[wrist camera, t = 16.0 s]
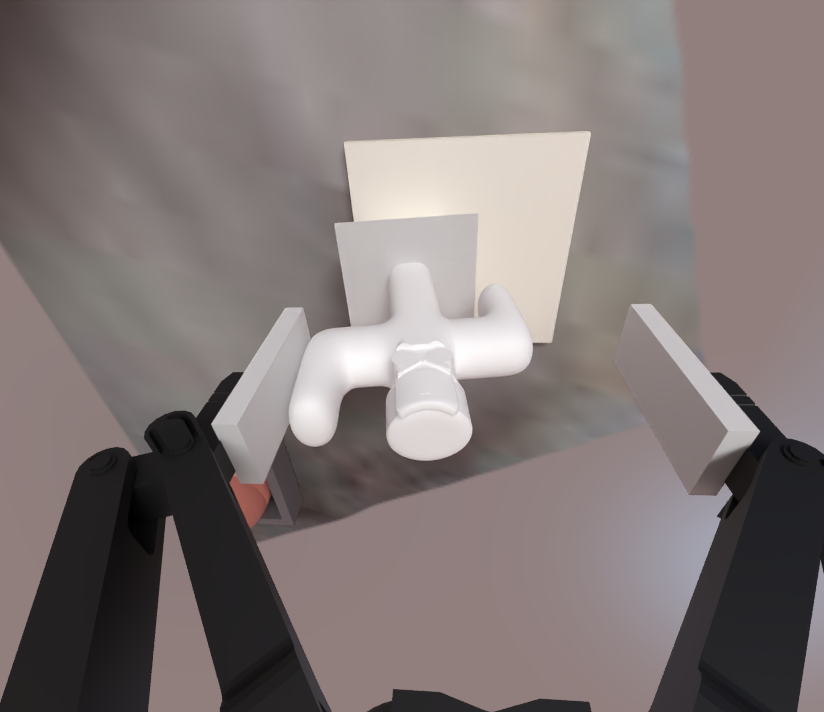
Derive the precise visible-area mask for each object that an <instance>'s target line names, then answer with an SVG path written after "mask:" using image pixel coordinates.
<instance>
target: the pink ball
mask: <svg viewBox="0 0 824 712" xmlns="http://www.w3.org/2000/svg"><path fill="white" fill-rule="evenodd" d="M230 485H231V487H232V489H233V491H234V493H235V496H236V498H237V500H238V503H239V505H240V507H241V509H242V512H243V514H244V516H245V518H246V521H247V523H248V525H249V528H250V529H251V528H252V527H253V526H254V525H255V524H256V523H257V522H258V521H259V519H260V518H261V516H262V515H263V513H264V511H265V509H266V507H267V504H268V502H269V500H270V497H271V495H272V493H271V491H270V488H269V486H268V483H267V481H266V479H265V481H264V484H241V483H240V481H239V479H238V477H237V475H236V473H235V474H234V475H233V477H232V479H231V481H230Z"/></svg>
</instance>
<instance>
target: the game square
mask: <svg viewBox="0 0 824 712" xmlns="http://www.w3.org/2000/svg"><path fill="white" fill-rule="evenodd" d="M590 136H591V132H589V131H577V132H553V133H530V134H506V135H482V136H458V137H435V138H411V139H387V140H364V141H346V142H344V148H345V156H346V164H347V171H348V179H349V187H350V195H351V202H352V210H353V218H354V222H359V221H373V220H387V219H402V218H416V217H430V216H444V215H458V214H472V213H479V214H478V237H477V260H476V283H475V306H474V317H479V316H478V300H479V296H480V294H481V292H482V291H483V289H484V288H486V287H487V286H489V285H491V284H499V285H502V286H503V287H505V288H506V289H507V290H508V292H509V293H510V295H511V297H512V299H513V300H514V302H515V304H516V305H517V307H518V309H519V311H520V312H521V314H522V316H523V318H524V320H525V321H526V323H527V325H528V328H529V330H530V334H531V337H532V343H552V338H553V332H554V327H555V322H556V316H557V311H558V306H559V301H560V295H561V290H562V285H563V279H564V274H565V269H566V263H567V258H568V253H569V247H570V242H571V237H572V231H573V226H574V221H575V216H576V210H577V205H578V200H579V194H580V189H581V184H582V178H583V173H584V168H585V162H586V157H587V152H588V146H589V141H590Z"/></svg>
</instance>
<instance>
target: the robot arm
mask: <svg viewBox="0 0 824 712" xmlns="http://www.w3.org/2000/svg"><path fill="white" fill-rule="evenodd" d="M310 340H311V338H310V334H309V330H308V326H307V321H306V317H305V313H304V309H303V308H285V309H284V311H283V312H282V314H281V315H280V317H279V319H278V320H277V322H276V323H275V325H274V326H273V328H272V330H271V331H270V333H269V334H268V336H267V337H266V339H265V341H264V342H263V344H262V345H261V347H260V348H259V350H258V352H257V353H256V355H255V356H254V358H253V359H252V361H251V362H250V364H249V366H248V367H247V369H246V370H245V372H233V373H232V374H230V375H229V376H228V377H226V378H225V379H224V380H223V381H221V383H220V384H219V386H218V387H217V389H216V390H215V391H214V394H212V396H211V397H210V399H209V402H207V403H206V404H205V406H204V407H203V409H202V410H201V412H200V413H199V415H198V416H197V417H196V418H195V416H194V415H193V414H192V413H191V412H188V411H174V412H171V413H168V414H165V415H163V416H161V417H159V418H157V419H156V420H155V421H154V422H152V423H151V424H150V425H149V426H148V428H147V429H146V431H145V435H144V439H145V440H146V442H147V443H148V445H149V446H150V448H151V449H152V451H153V452H151V453H147V454H142V455H138V456H134V457H132V456H131V455H130V454H129V452H128V451H127V450H125V449H124V448H119V447H114V448H109V449H105V450H103V451H100V452H98V453H96V454H94V455H93V456H91V457H90V458H88V459H87V460H86V461H85V462H84V463H83V464H82V465H81V466H80V467H79V469H78V470H77V472H76V474H75V477H74V480H73V483H72V486H71V490H70V493H69V495H68V498H67V502H66V505H65V508H64V511H63V514H62V517H61V520H60V523H59V526H58V529H57V532H56V535H55V538H54V541H53V544H52V547H51V550H50V553H49V556H48V559H47V562H46V566H45V568H44V571H43V575H42V577H41V580H40V584H39V587H38V590H37V593H36V596H35V599H34V602H33V605H32V608H31V611H30V614H29V617H28V620H27V623H26V626H25V629H24V633H23V635H22V639H21V641H20V644H19V647H18V651H17V654H16V657H15V660H14V663H13V666H12V669H11V672H10V675H9V678H8V682H7V684H6V687H5V690H4V693H3V696H2V699H1V702H0V712H148V704H149V693H150V683H151V673H152V661H153V651H154V639H155V629H156V618H157V607H158V596H159V585H160V575H161V564H162V553H163V543H164V532H165V521H166V517H167V516H171V515H173V518H174V521H175V525H176V529H177V532H178V536H179V540H180V543H181V547H182V551H183V554H184V558H185V561H186V565H187V569H188V572H189V576H190V580H191V583H192V587H193V591H194V594H195V598H196V601H197V605H198V609H199V612H200V616H201V620H202V623H203V627H204V631H205V634H206V638H207V641H208V645H209V648H210V652H211V656H212V660H213V663H214V667H215V670H216V674H217V678H218V682H219V685H220V689H221V694H222V703H221V707H220V712H331V709H330V707H329V705H328V703H327V701H326V699H325V697H324V695H323V693H322V691H321V689H320V686H319V684H318V682H317V680H316V678H315V675H314V673H313V671H312V668H311V666H310V664H309V662H308V660H307V657H306V655H305V653H304V650H303V648H302V646H301V644H300V641H299V639H298V637H297V634H296V632H295V630H294V628H293V625H292V623H291V621H290V618H289V616H288V614H287V612H286V609H285V607H284V605H283V603H282V600H281V598H280V596H279V593H278V591H277V589H276V587H275V584H274V582H273V580H272V578H271V575H270V573H269V571H268V568H267V566H266V564H265V562H264V559H263V557H262V555H261V553H260V551H259V548H258V546H257V543H256V541H255V539H254V537H253V534H252V532H251V530H250V528H249V525H248V523H247V521H246V518H245V516H244V514H243V512H242V509H241V507H240V505H239V503H238V500H237V498H236V496H235V493H234V491H233V489H232V487H231V485H230V481H231V479H232V477H233V475H234V474H235V473H236V475H237V477H238V479H239V481H240V483H241V484H264V481H265V479H266V477H267V474H268V472H269V470H270V467H271V465H272V462H273V460H274V458H275V455H276V453H277V451H278V448H279V446H280V444H281V441H282V439H283V437H284V434H285V432H286V429H287V427H288V425H289V404H290V400H291V396H292V392H293V389H294V385H295V382H296V379H297V375H298V372H299V368H300V365H301V361H302V358H303V355H304V352H305V350H306V347H307V345H308V343H309V342H310ZM613 362H614V364H615V365H616V367H617V369H618V371H619V372H620V374H621V376H622V378H623V379H624V381H625V383H626V385H627V386H628V388H629V390H630V392H631V394H632V395H633V397H634V399H635V401H636V402H637V404H638V406H639V408H640V409H641V411H642V413H643V415H644V416H645V418H646V420H647V422H648V423H649V425H650V427H651V429H652V430H653V432H654V434H655V436H656V438H657V439H658V441H659V443H660V445H661V446H662V448H663V450H664V452H665V453H666V455H667V457H668V459H669V461H670V462H671V464H672V466H673V468H674V469H675V471H676V473H677V475H678V476H679V478H680V480H681V482H682V483H683V485H684V487H685V489H686V490H687V492H688V494H689V495H713V496H716V495H717V493H718V492H719V491H720V489H721V488H722V486H723V485H724V483H726V485H727V486H728V488H729V489H730V490H731V492H732V494H733V495H732V496H731V497H730V499H729V500H728V502H727V503H726V505H725V506H724V507H723V508H722V510H721V511H720V513H719V514H718V515H717V517H719V518H721V521H720V523H719V527H718V529H717V531H716V534H715V537H714V540H713V542H712V545H711V548H710V550H709V553H708V556H707V558H706V561H705V564H704V566H703V569H702V572H701V574H700V577H699V580H698V582H697V585H696V588H695V591H694V593H693V596H692V599H691V601H690V604H689V607H688V609H687V612H686V615H685V617H684V620H683V623H682V626H681V628H680V631H679V633H678V636H677V639H676V642H675V644H674V647H673V650H672V652H671V655H670V658H669V660H668V663H667V666H666V668H665V671H664V674H663V676H662V679H661V682H660V684H659V687H658V690H657V693H656V695H655V698H654V701H653V703H652V705H651V708H650V710H649V712H797V708H798V702H799V695H800V688H801V682H802V675H803V669H804V662H805V656H806V650H807V643H808V637H809V630H810V624H811V618H812V611H813V605H814V598H815V591H816V585H817V578H818V572H819V565H820V559H821V563H822V567H823V572H824V454H822V453H821V452H820V451H818V450H817V449H816V448H814V447H812V446H810V445H808V444H806V443H803V442H800V441H797V440H793V439H787V438H786V437H785V436H784V435H783V434H782V433H781V432H780V430H779V429H778V428H777V427H776V426H775V425H774V424H773V423H772V422H771V421H770V419H769V418H768V417H767V416H766V415H765V414H764V413H763V412H762V411H761V410H760V408H759V407H758V406H755V403H754V402H753V401H752V400H751V399H750V397H747V396H746V395H747V394H746V393H745V392H744V391H743V390H742V389H741V388H740V387H739V385H738V384H737V383H736V382H734V381H732V380H731V379H729V378H728V377H726V376H725V375H723V374H722V373H710V372H709V371H708V370H707V369H706V368H705V366H704V365H703V364H702V363H701V362H700V361H699V359H698V358H697V357H696V356H695V355H694V354H693V352H692V351H691V350H690V349H689V348H688V347H687V345H686V344H685V343H684V342H683V341H682V340H681V338H680V337H679V336H678V335H677V334H676V333H675V331H674V330H673V329H672V328H671V327H670V326H669V324H668V323H667V322H666V321H665V320H664V319H663V317H662V316H661V315H660V314H659V313H658V312H657V310H656V309H655V308H654V307H653V306H652V305H651V304H630V308H629V311H628V314H627V317H626V320H625V323H624V326H623V330H622V333H621V336H620V339H619V342H618V345H617V348H616V352H615V355H614V358H613ZM368 712H488V711H485V710H482V709H480V708H477V707H475V706H473V705H470V704H468V703H465V702H463V701H460V700H458V699H455V698H453V697H450V696H448V695H446V694H443V693H441V692H429V691H414V690H399V689H393V698H392V701H390V702H387V703H383V704H381V705H379V706H377V707H374V708H372V709H371V710H369V711H368ZM495 712H591V708H590V703H589V702H582V701H567V700H551V699H538V700H534V701H530V702H527V703H523V704H520V705H516V706H513V707H509V708H506V709H502V710H499V711H495Z"/></svg>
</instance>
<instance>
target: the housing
mask: <svg viewBox="0 0 824 712" xmlns="http://www.w3.org/2000/svg"><path fill="white" fill-rule="evenodd" d="M266 481H267V483H268V486H269V488H270V491H271V493H272V495H271V497H270V500H269V502H268V504H267V507H266V509H265V511H264V513H263V515H262V516H261V518H260V519H259V521H258V522H257V523H256V524H267V525H289V526H294V525H295V522H296V519H297V516H298V513H299V510H300V507H301V505H302V502H303V498H302V495H301V492H300V489H299V486H298V483H297V480H296V477H295V474H294V471H293V468H292V465H291V462H290V459H289V456H288V453H287V450H286V447H285V444H284V441H283V439H282V441H281V444H280V446H279V448H278V451H277V453H276V455H275V458H274V460H273V462H272V465H271V467H270V470H269V472H268V474H267V477H266Z"/></svg>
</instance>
